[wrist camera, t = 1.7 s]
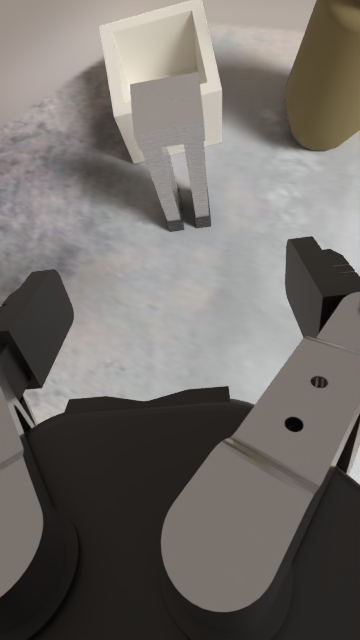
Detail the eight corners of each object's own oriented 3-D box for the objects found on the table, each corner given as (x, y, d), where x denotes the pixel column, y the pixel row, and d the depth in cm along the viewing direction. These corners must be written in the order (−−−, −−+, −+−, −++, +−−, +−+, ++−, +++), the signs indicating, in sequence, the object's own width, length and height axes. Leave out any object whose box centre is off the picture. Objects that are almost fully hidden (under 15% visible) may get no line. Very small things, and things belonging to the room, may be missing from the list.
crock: (133, 163, 34) (114, 117, 28) (120, 86, 36) (99, 25, 29) (221, 142, 33) (222, 89, 27) (204, 64, 35) (201, -3, 28)
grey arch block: (169, 231, 33) (133, 134, 19) (167, 200, 33) (129, 84, 20) (210, 226, 32) (204, 122, 19) (207, 195, 33) (198, 71, 19)
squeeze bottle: (352, 171, 32) (520, -77, 14) (266, 152, 33) (321, -99, 15) (374, 95, 32) (561, -234, 15) (290, 79, 34) (369, -242, 16)
